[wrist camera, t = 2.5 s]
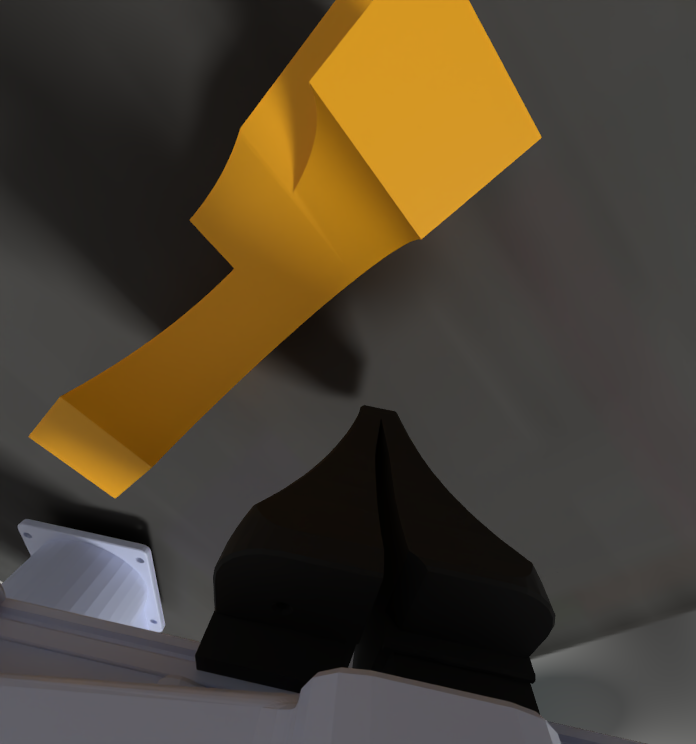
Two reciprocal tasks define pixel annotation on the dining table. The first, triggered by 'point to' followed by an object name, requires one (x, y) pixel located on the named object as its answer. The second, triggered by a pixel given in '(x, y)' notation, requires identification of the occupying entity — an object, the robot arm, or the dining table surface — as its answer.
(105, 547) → the robot arm
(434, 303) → the dining table surface
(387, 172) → the pipe clamp
